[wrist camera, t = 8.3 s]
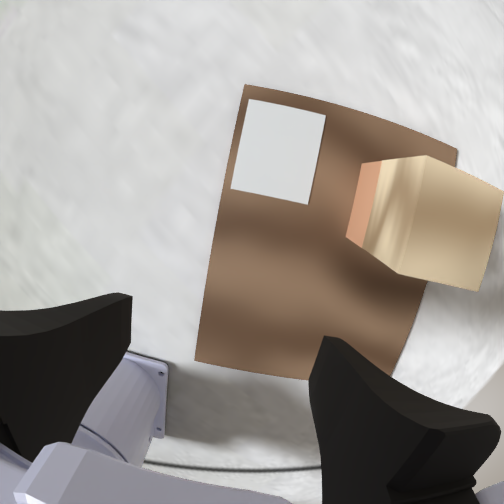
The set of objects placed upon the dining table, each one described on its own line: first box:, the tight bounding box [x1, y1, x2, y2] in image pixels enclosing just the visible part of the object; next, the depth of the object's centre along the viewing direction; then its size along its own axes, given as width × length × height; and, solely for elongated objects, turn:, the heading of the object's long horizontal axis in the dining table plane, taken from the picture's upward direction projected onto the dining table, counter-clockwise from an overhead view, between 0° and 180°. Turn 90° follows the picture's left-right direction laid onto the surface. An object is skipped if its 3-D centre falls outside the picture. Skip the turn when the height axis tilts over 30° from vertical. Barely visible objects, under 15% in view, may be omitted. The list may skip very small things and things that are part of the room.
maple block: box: [362, 155, 504, 292], centre depth 13 cm, size 5×5×5 cm
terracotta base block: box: [346, 161, 382, 248], centre depth 18 cm, size 5×5×4 cm
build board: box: [194, 84, 457, 380], centre depth 20 cm, size 20×16×1 cm
